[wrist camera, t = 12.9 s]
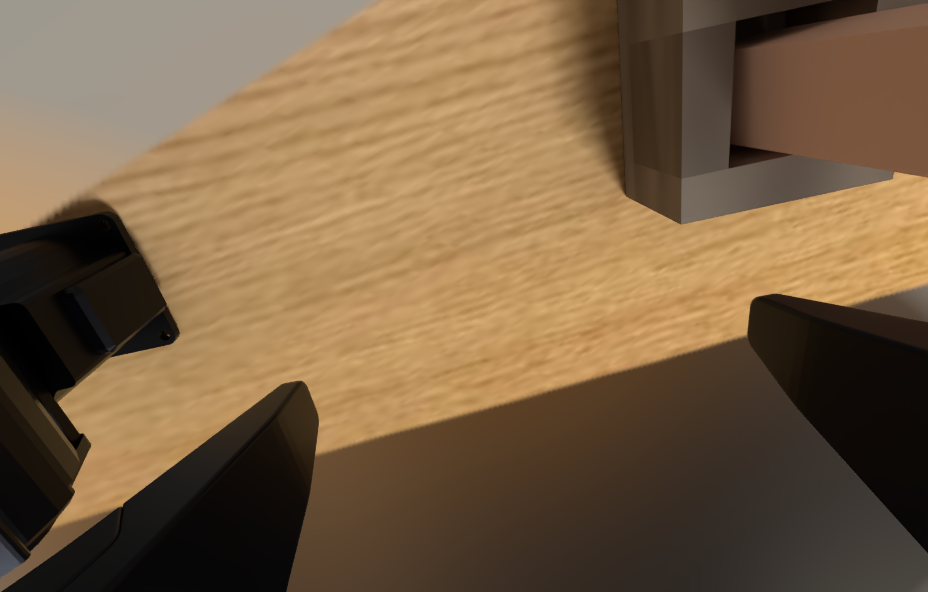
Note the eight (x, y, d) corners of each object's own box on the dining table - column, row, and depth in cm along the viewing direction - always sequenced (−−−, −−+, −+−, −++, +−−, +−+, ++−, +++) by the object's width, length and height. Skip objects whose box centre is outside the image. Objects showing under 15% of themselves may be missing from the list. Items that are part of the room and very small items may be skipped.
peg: (692, 137, 20) (975, 185, 10) (685, 56, 18) (1008, 14, 8) (764, 114, 19) (1130, 139, 9) (764, 31, 18) (1188, -43, 8)
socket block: (625, 196, 21) (680, 224, 17) (617, -2, 18) (683, -33, 14) (792, 160, 21) (892, 178, 17) (814, -44, 18) (947, -90, 14)
